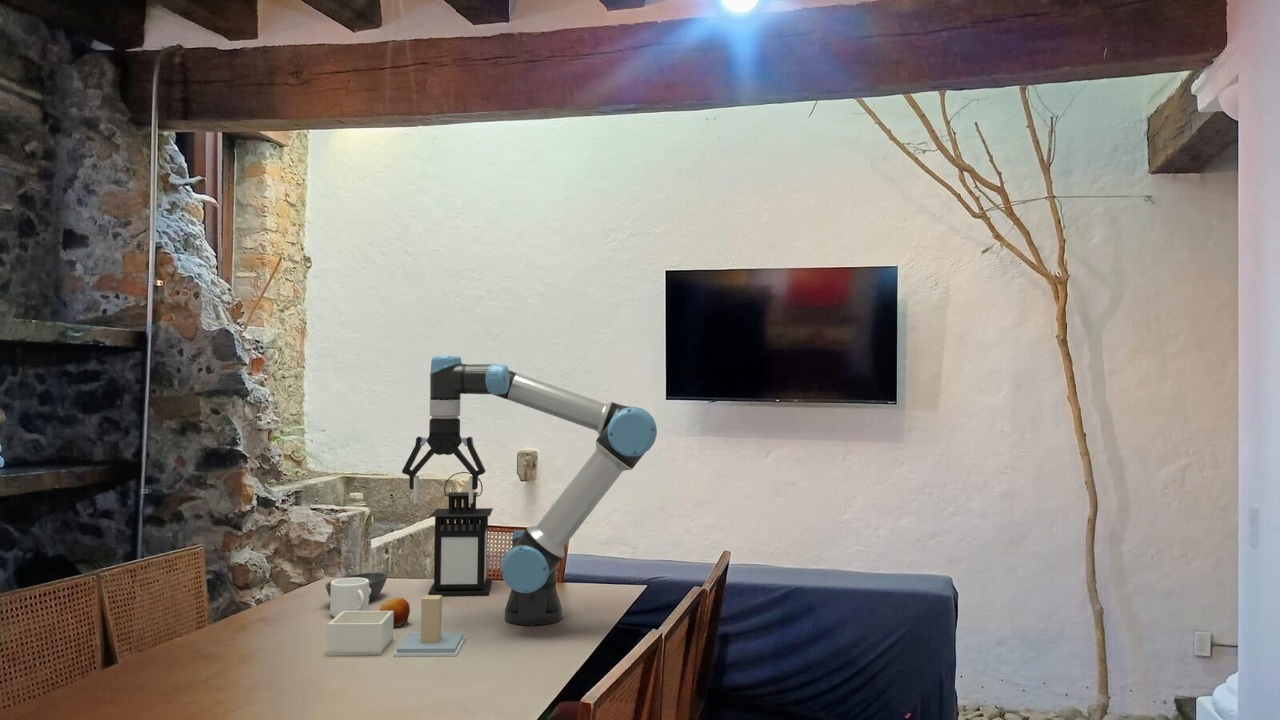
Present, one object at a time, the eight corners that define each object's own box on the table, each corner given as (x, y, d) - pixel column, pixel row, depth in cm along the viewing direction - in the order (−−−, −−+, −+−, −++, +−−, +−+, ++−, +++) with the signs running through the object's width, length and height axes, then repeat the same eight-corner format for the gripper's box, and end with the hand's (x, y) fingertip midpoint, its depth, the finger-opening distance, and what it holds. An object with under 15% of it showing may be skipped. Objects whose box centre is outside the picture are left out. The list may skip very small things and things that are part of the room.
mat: (465, 638, 212) (465, 636, 212) (456, 656, 198) (456, 653, 198) (406, 639, 211) (406, 636, 211) (393, 656, 197) (393, 653, 197)
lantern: (428, 597, 255) (430, 475, 256) (435, 584, 272) (437, 470, 273) (488, 596, 256) (490, 475, 258) (491, 583, 274) (493, 470, 275)
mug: (382, 616, 232) (382, 582, 232) (345, 624, 224) (346, 588, 225) (358, 608, 240) (359, 575, 240) (323, 615, 232) (323, 580, 233)
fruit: (407, 624, 219) (393, 596, 220) (382, 639, 220) (367, 611, 221) (422, 616, 226) (408, 589, 228) (397, 631, 228) (383, 603, 229)
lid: (463, 636, 211) (464, 590, 212) (454, 652, 198) (455, 603, 199) (408, 637, 210) (409, 590, 211) (396, 653, 198) (397, 603, 198)
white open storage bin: (393, 640, 210) (393, 610, 210) (380, 655, 198) (381, 623, 198) (342, 640, 209) (342, 610, 209) (326, 655, 197) (327, 624, 197)
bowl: (398, 595, 256) (398, 574, 256) (349, 613, 235) (350, 590, 236) (363, 592, 260) (363, 571, 260) (312, 609, 239) (313, 586, 240)
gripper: (496, 417, 225) (495, 500, 224) (397, 416, 223) (396, 500, 223) (493, 418, 217) (492, 504, 216) (391, 417, 216) (389, 504, 215)
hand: (443, 502), depth 219 cm, fingers open, 13 cm apart
